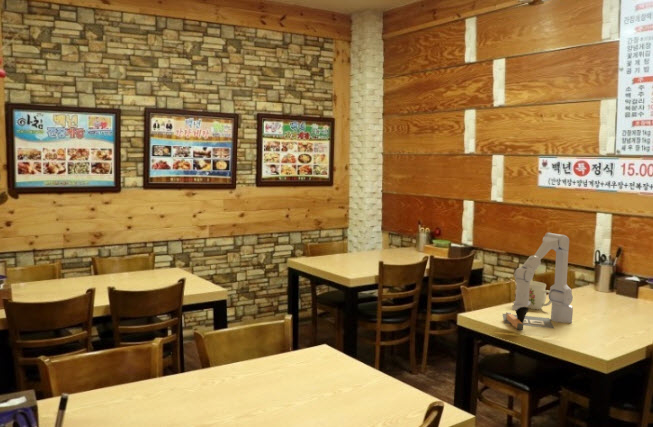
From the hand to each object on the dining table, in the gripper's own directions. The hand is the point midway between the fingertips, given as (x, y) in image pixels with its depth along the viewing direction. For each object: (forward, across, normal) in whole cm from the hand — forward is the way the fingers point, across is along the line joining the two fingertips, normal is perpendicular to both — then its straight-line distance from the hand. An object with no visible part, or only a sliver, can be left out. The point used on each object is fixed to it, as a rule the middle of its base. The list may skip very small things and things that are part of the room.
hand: (520, 322), depth 261 cm
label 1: (+2, -8, -3) cm, 9 cm away
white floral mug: (+3, -42, -12) cm, 44 cm away
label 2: (+2, -12, +3) cm, 12 cm away
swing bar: (+1, +2, -1) cm, 3 cm away
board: (+3, -12, -2) cm, 13 cm away
